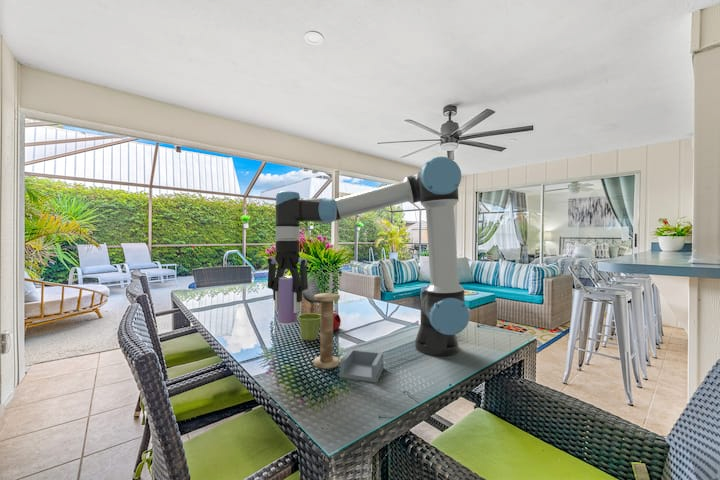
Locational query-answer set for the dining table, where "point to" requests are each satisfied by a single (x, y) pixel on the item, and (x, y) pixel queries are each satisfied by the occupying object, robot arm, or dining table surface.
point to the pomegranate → (336, 321)
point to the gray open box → (362, 365)
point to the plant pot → (309, 326)
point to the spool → (326, 331)
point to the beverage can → (286, 301)
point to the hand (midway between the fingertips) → (287, 311)
